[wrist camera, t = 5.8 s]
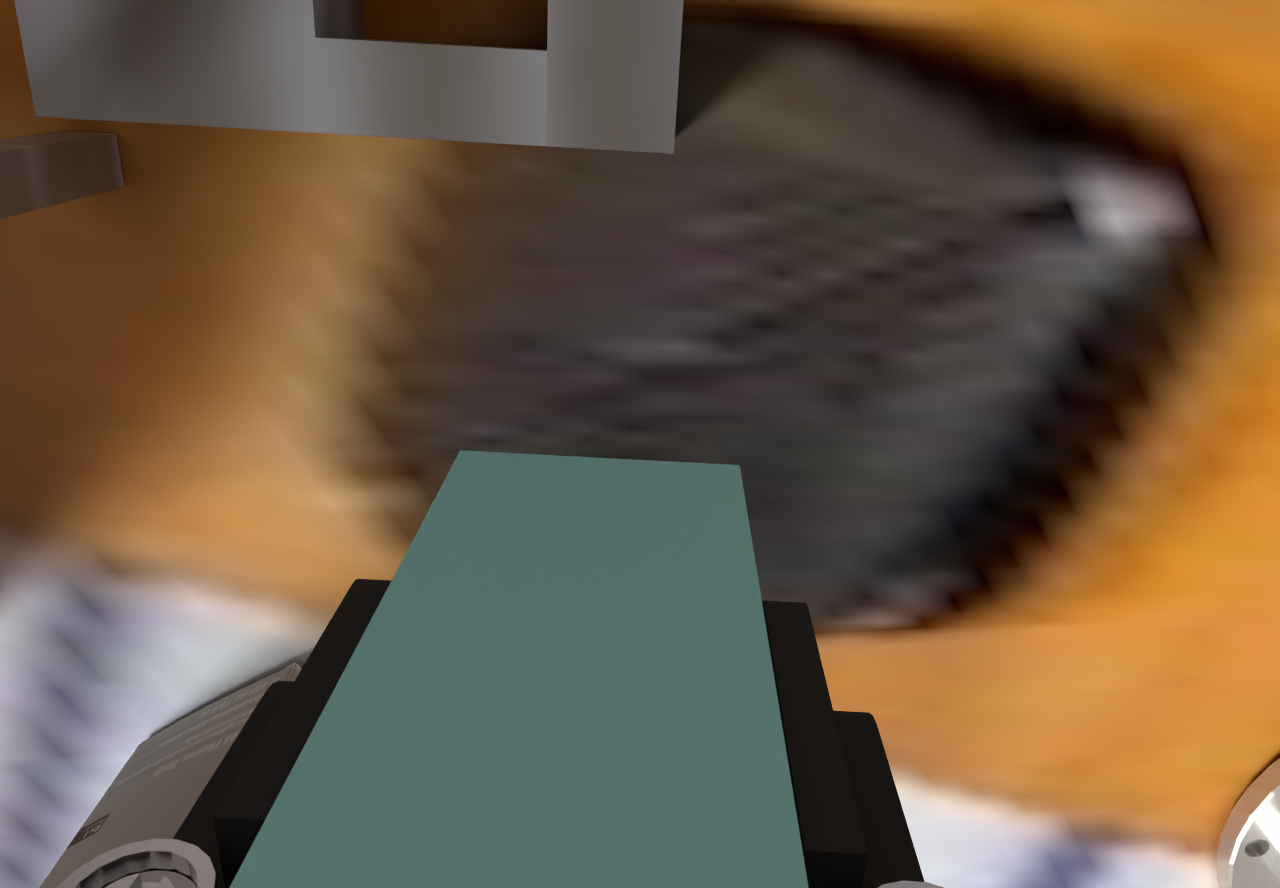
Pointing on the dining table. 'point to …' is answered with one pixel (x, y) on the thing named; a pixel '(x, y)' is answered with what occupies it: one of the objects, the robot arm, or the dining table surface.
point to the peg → (553, 697)
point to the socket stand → (329, 81)
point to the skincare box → (164, 778)
